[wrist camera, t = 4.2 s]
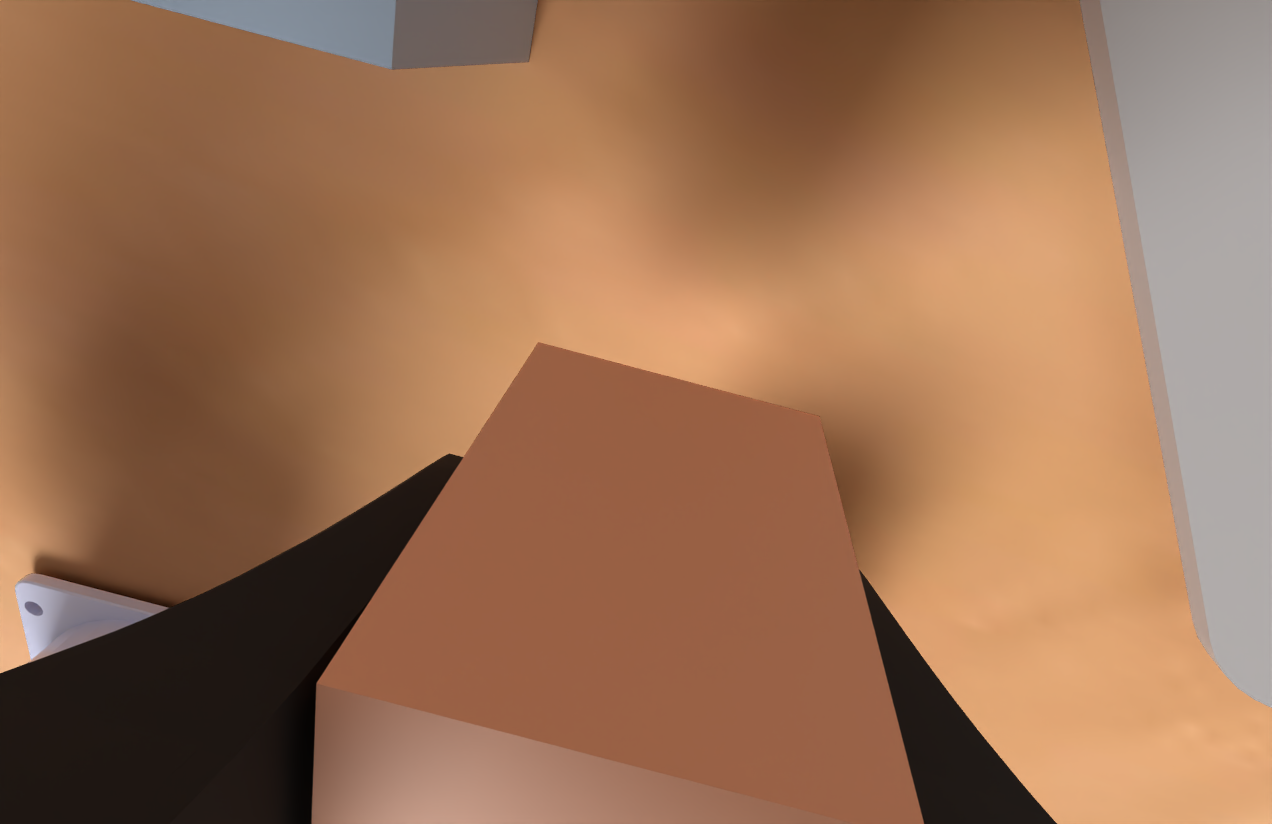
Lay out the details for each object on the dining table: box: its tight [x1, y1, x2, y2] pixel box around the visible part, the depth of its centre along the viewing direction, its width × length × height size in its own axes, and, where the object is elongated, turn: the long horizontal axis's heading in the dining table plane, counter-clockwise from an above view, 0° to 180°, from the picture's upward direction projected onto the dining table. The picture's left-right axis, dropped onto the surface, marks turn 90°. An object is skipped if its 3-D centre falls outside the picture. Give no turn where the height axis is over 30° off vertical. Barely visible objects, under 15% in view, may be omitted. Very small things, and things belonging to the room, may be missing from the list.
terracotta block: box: [312, 342, 924, 824], centre depth 8 cm, size 4×4×6 cm
